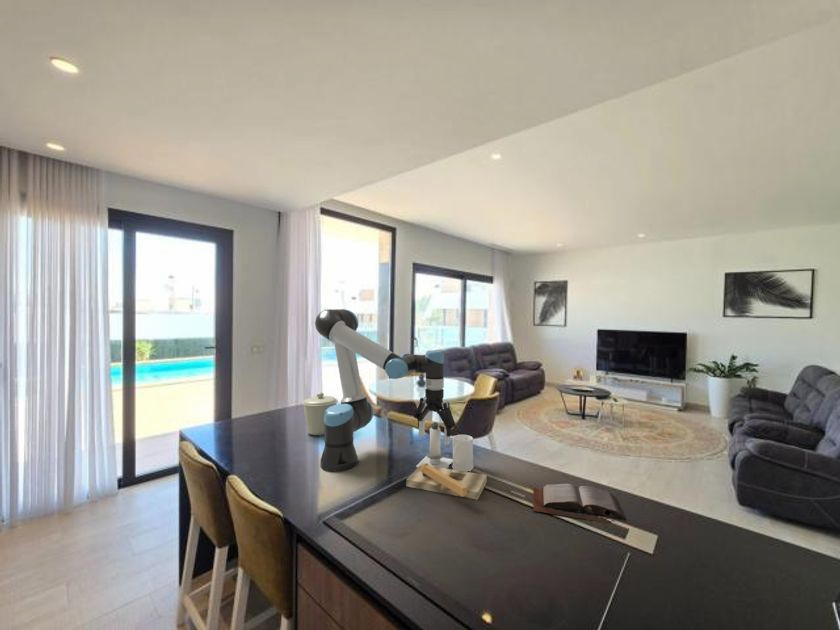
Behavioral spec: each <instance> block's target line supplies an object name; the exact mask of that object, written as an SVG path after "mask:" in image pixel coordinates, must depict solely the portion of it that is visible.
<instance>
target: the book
mask: <svg viewBox="0 0 840 630" xmlns="http://www.w3.org/2000/svg"><path fill="white" fill-rule="evenodd" d="M532 494H533V496H532V497H533V500H532V501H533V502H532V503H533V504H532V505H533V511H534V512H537V513H544V514H552V515H557V516H558V515H559V516H562V517H569V518H575V519H582V520H587V521H594V522H598V523H606V524H611V525H612V522H614V523H615V522H616V520H622V521H627V518H626V516H625V513H624V511H623V510H622V508H621V507H620V504H619V501H618V500H617V498H616V496H615V495H614V494H613V493H612V492H610V491H606V490H603V489H599V488H596V487H593V486H589V485H580V486H579V487H578V486H576V485H574V484H572V483H556V484H549V483H548V484H546V485H545V486H543V487H542V488H537V487H533V493H532ZM607 511H608V512H610V513H609V515H608V514H606V512H607ZM610 519H611V520H610ZM613 519H615V520H613Z"/></svg>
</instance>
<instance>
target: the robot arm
mask: <svg viewBox="0 0 840 630" xmlns="http://www.w3.org/2000/svg"><path fill="white" fill-rule="evenodd" d="M314 324H315V326H314V327H315V329H316V331H317V333H318V334H319V335H321V336H322V337H324V338H325V339H327V340H329V341H330V342H331V343H332V344H333V345H334V349H335V355H336V360H337V361H336V362H337V367H338V373H339V379H340V385H341V390H342V391H341V392H342V398H341V400H340V403H338V404H337V405H334V406H331V407H329V408H328V409H327V410H326V411H325V417H324V430H325V435H324V448H323V451H322V454H321V458H320V468H321V469H322V470H324V471H327V472H343V471H346V470H347V471H348V470H350V469H352V468H354V467H356V466H357V465H358V463H359V457H358V456H359V455H358V454H357V450H356V447H355V444H354V433H355V432H357V431H358V430H360V429H362V428H365V427H366V426H367V425H368V424H369V423H371V421H372V420H373V417H374V406H373V405H372V403H371V402H370V401H369V400H368V397H367V395H366V394H365V393H363V390H362V383H361V377H360V372H359V371H360V370H359V366H358V360H357V355H359V356H361V357H362V358H364V359H366V360H367V361H369V362H370V363H372V364H374V365H376V366H377V367H378V368H381V369H383V370H384V371H385V373H386V375H387V376H388V377H389V379H393V380H397V379H402V378H404V377H406V376H408V375H410V374H414V373H416V374H417V373H418V374H424V375H425V384H424V385H425V386H424V387H425V392H424V393H425V394H424V395H425V396H423V397H420V399H419V402H418V403H419V404H418V406H417V408H416V411H415V413H414V416H413V418H414V419H416V420H417V427H418V437H419V438H421V437H424V436H425V433H426V432H425V430H426V429H425V425H426V424H425V417H426V416H427V414H428V413H429V412H433V413H436V414H437V415H439V417H440V419H441V421H442V423H443V424H444V430H443V431H444V436H443V437H444V438H443V439H444V440H443V441H444V442H443V443H444V446H447V445H450V444H451V437H452V429H453V428H455V427H456V426H457V425H456V422H455V419H454V416H453V413H452V410H451V408H450V402H444V400H443V399H444V395H445V393H444V390H445V389H443V388H445V384H444V383H445V382H444V381H445V379H444V378H445V377H444V375H445V374H444V373H445V370H444V369H445V366H444V365H445V359H444V358H445V354H444V352H443V351H442V350H439V349H438V350H434V349H429V350H426V351H425V354H412V353H411V354H410V353H401V354H400V355H398V354H396V353H394V352H393V351H391V350H390V349H388V348H385V347H384V346H382V345H380V344H379V343H377V342H375V341H373V339H371V338H368V337H367V336H364V335H363V334H361V333H359V332H358V331H357V330H358V328H359V319H358V317H357V315H356V314H355V313H354V312H353V311H351V310H349V309H346V308H345V309H344V308H342V309H341V308H340V309H339V308H338V309H334V308H333V309H331V308H330V309H328V308H327V309H324V310H322V311H320V312H319V313H318V314H317V316H316V318H315V322H314Z"/></svg>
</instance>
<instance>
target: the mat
mask: <svg viewBox="0 0 840 630" xmlns="http://www.w3.org/2000/svg"><path fill="white" fill-rule="evenodd" d="M452 461H453V458H447V457H442V458H441V459H440V464H438V465H432V464H430V458H428V457H427V455H426V456H424V458H423V459H422V460H421V461H420V462H418V464H416V466H415V468H416V469H417V468H418V467H419V466H420V465H421V464H422V463H427V464H428V465H430V466H434V467H440V468H446V469H449V467H450V466H451V465H452V464H453V462H452ZM450 464H451V465H450ZM449 465H450V466H449Z"/></svg>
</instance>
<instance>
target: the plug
mask: <svg viewBox="0 0 840 630" xmlns="http://www.w3.org/2000/svg"><path fill="white" fill-rule="evenodd" d="M426 456H427V457H428V458H430V464H432V465H438V464H440V459H441V458H444V453H443V452H442V451H441V428H440V427H439V424H437V423H433V424H431V427H429V451H428V452H427V453H426Z"/></svg>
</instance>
